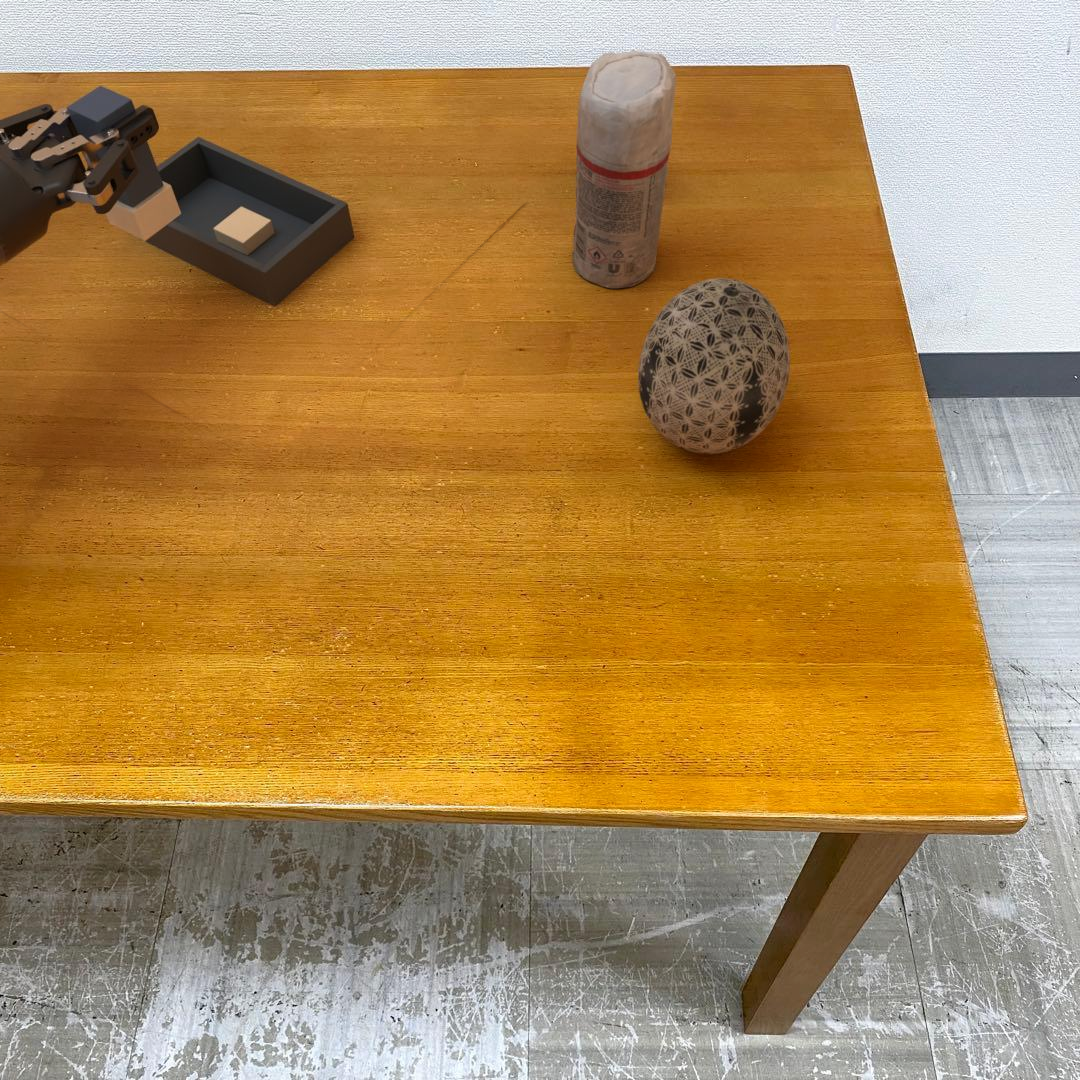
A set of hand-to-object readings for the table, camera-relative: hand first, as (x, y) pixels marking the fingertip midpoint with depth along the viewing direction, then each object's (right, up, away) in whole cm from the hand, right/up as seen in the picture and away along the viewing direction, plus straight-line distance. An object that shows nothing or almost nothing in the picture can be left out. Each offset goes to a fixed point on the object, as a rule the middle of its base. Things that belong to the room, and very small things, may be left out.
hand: (133, 108), depth 83 cm
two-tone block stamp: (-1, -7, +6) cm, 9 cm away
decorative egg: (+47, -26, +4) cm, 54 cm away
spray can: (+40, -9, +15) cm, 44 cm away
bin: (+4, -5, +18) cm, 19 cm away
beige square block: (+4, -5, +17) cm, 19 cm away
